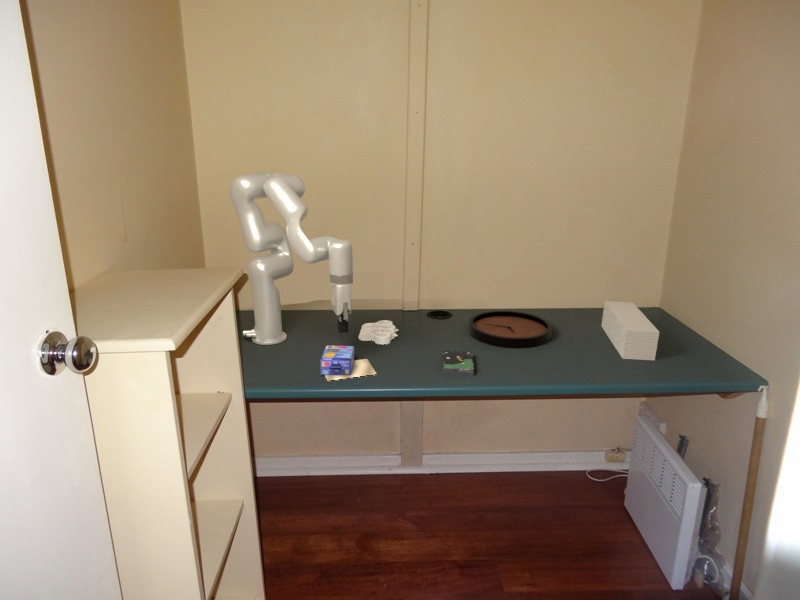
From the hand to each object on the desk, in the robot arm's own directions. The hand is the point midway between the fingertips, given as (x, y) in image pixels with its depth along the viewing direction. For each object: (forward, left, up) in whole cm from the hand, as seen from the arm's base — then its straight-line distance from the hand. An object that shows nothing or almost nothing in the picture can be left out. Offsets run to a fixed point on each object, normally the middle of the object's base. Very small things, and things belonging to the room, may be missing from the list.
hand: (343, 331), depth 180 cm
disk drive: (+36, -14, -12) cm, 40 cm away
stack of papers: (+104, -13, -11) cm, 105 cm away
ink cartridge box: (-1, +1, -8) cm, 8 cm away
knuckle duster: (+18, +20, -12) cm, 29 cm away
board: (0, -7, -11) cm, 13 cm away
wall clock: (+67, +8, -11) cm, 68 cm away
